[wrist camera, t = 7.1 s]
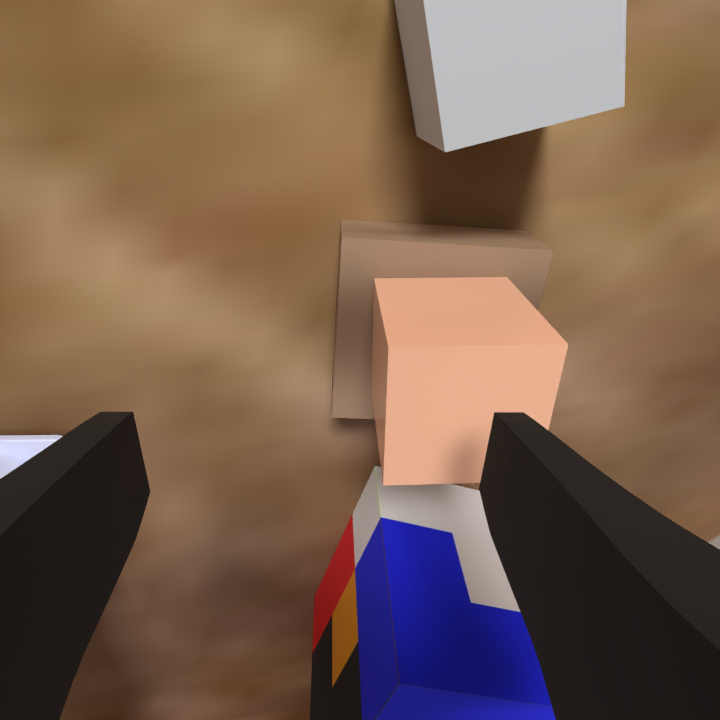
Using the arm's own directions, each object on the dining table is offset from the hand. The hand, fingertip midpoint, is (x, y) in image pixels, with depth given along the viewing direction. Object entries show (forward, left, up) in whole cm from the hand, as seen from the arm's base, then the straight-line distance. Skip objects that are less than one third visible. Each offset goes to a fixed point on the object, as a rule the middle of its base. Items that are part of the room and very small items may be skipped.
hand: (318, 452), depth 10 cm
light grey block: (+8, -5, -10) cm, 14 cm away
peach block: (-1, -4, -8) cm, 9 cm away
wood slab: (-1, -4, -11) cm, 11 cm away
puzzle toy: (-16, -6, -11) cm, 20 cm away
